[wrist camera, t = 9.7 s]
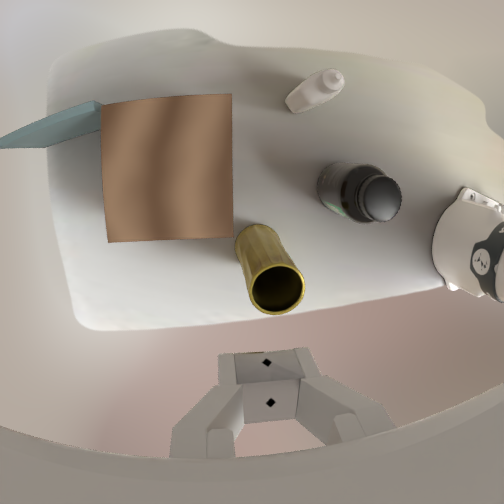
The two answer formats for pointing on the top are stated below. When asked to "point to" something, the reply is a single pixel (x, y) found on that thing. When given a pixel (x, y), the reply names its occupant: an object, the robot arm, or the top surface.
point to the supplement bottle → (359, 192)
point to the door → (56, 127)
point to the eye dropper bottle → (315, 90)
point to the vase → (268, 271)
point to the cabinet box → (168, 168)
